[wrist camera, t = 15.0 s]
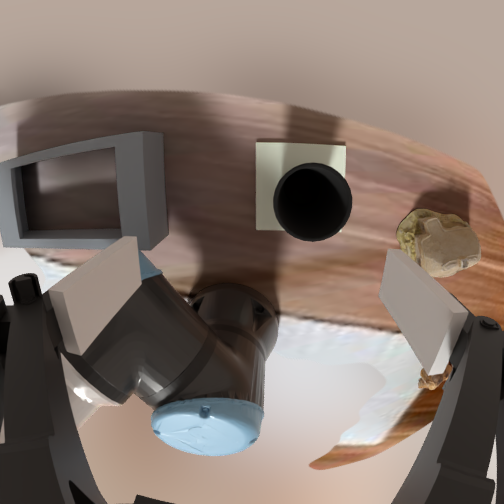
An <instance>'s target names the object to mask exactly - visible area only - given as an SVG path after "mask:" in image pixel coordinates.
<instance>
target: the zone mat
mask: <svg viewBox="0 0 504 504" xmlns="http://www.w3.org/2000/svg"><path fill="white" fill-rule="evenodd" d="M345 161H346V146H338V145H324V144H305V143H265V142H256V230H281V231H285V230H284V229H283V228H282V227H281V226H280V224H279V222H278V220H277V219H276V216H275V213H274V209H273V196H274V192H275V188H276V186H277V184H278V182H279V180H280V179H281V178H282V177H283V176H284V174H285V173H286V172H288V171H289V170H291V169H292V168H293V167H295V166H298V165H301V164H303V163H312V162H314V163H322V164H325V165H328V166H330V167H332V168H334V169H335V170H336V171H338V172H339V173H340V174H341V175H342V176H343V177H344V178H345ZM341 231H342V229H341V230H340V231H339V232H341Z"/></svg>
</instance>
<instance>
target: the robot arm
mask: <svg viewBox="0 0 504 504" xmlns="http://www.w3.org/2000/svg"><path fill="white" fill-rule="evenodd" d="M162 273H163V272H162V271H161V270H160V269H157V268H156V267H155V266H154V265H153V264H152V263H151V262H150V261H149V260H148V259H147V257H146V256H145V255H144V254H143V253H142V252H141V251H140V250H139V249H138V245H137V237H136V236H124V237H122V238H121V239H119V240H118V241H116V242H115V243H113V244H112V245H110V246H109V247H107V248H106V249H104V250H103V251H101V252H100V253H98V254H97V255H95V256H94V257H92V258H91V259H90V260H88V261H87V262H85V263H84V264H82V265H81V266H80V267H78V268H77V269H75V270H74V271H73V272H71V273H70V274H69V275H67V276H66V277H64V278H63V279H62V280H60V281H59V282H58V283H56V284H55V285H54V286H52V287H51V288H50V289H48V290H47V291H46V292H45V293H43V294H42V293H41V289H40V285H39V281H38V277H37V275H36V274H34V273H28V274H22V275H19V276H17V277H15V278H13V279H12V280H10V282H9V283H8V284H9V288H10V291H11V295H12V298H13V301H14V306H6V305H5V302H4V299H3V296H2V295H0V504H107V502H106V501H105V499H104V498H103V496H102V495H101V493H100V491H99V490H98V487H97V485H96V483H95V480H94V478H93V475H92V473H91V470H90V467H89V464H88V462H87V459H86V456H85V453H84V450H83V447H82V444H81V441H80V437H79V434H78V430H79V428H80V427H81V426H82V425H83V424H84V423H85V422H86V421H87V420H88V419H89V418H90V417H91V416H92V415H93V414H94V413H95V412H96V410H97V409H98V408H99V407H100V406H121V405H122V404H124V402H126V400H127V399H128V398H129V397H130V396H131V395H132V394H135V395H137V396H138V397H139V398H140V399H141V400H143V401H144V402H145V403H146V404H147V405H149V406H150V407H151V408H152V409H153V410H154V412H153V413H152V415H151V421H152V422H151V425H152V428H153V431H154V433H155V434H156V436H157V437H159V438H160V439H161V440H162V441H163V442H165V443H166V444H168V445H170V446H172V447H174V448H176V449H179V450H181V451H185V452H188V453H192V454H198V455H206V456H223V455H230V454H234V453H238V452H241V451H243V450H245V449H247V448H248V447H250V446H251V445H252V444H254V443H255V441H256V440H257V438H258V437H259V434H260V428H261V422H262V419H263V417H264V411H263V404H264V403H263V402H264V377H265V361H266V360H267V358H268V356H269V355H270V353H271V351H272V350H273V348H274V346H275V344H276V341H277V336H278V320H277V315H276V312H275V310H274V308H273V307H272V305H271V304H270V302H269V301H268V300H267V299H266V298H265V297H264V296H263V295H261V294H260V293H259V292H257V291H255V290H253V289H251V288H249V287H246V286H243V285H239V284H233V283H222V284H216V285H212V286H210V287H207V288H205V289H203V290H202V291H200V292H199V293H198V294H197V295H196V296H195V297H194V298H193V299H192V300H191V302H190V304H188V303H187V302H186V301H185V300H184V299H183V297H182V296H181V295H180V294H179V293H178V292H177V291H176V290H175V289H174V287H173V286H172V285H171V284H170V283H169V282H168V281H167V279H166V278H165V277H164V276H163V275H162ZM379 298H380V299H381V301H382V302H383V304H384V305H385V307H386V308H387V310H388V311H389V313H390V314H391V316H392V318H393V319H394V321H395V322H396V324H397V325H398V327H399V328H400V330H401V332H402V333H403V335H404V336H405V338H406V340H407V341H408V343H409V345H410V346H411V348H412V349H413V351H414V353H415V354H416V356H417V358H418V359H419V361H420V363H421V365H422V366H423V368H424V370H425V371H426V373H427V375H428V376H429V375H435V374H442V373H443V372H444V370H445V368H446V366H447V364H448V362H449V361H450V362H451V364H452V365H453V368H452V371H451V373H450V375H449V377H448V378H447V380H446V382H445V384H444V386H443V388H442V389H445V390H444V393H443V396H442V399H441V402H440V405H439V407H438V410H437V413H436V415H435V418H434V420H433V423H432V425H431V428H430V430H429V432H428V435H427V437H426V439H425V441H424V444H423V446H422V448H421V450H420V452H419V454H418V456H417V459H416V461H415V463H414V464H413V466H412V468H411V470H410V472H409V474H408V476H407V478H406V479H405V481H404V483H403V485H402V487H401V488H400V490H399V492H398V493H397V495H396V497H395V498H394V500H393V502H392V503H391V504H491V501H492V498H493V494H494V490H495V482H494V480H492V479H489V478H486V476H487V471H488V467H489V463H490V458H491V454H492V449H493V444H494V439H495V434H496V449H497V491H496V504H504V331H502V329H501V326H500V325H499V324H498V323H497V322H496V321H494V320H493V319H491V318H489V317H485V316H477V317H475V316H474V315H473V314H472V313H471V312H470V311H469V310H468V309H467V308H466V307H465V306H464V305H463V304H462V303H461V302H460V301H458V299H457V298H456V297H455V296H454V295H453V294H451V293H449V292H448V291H447V290H446V289H445V288H443V287H442V286H441V285H440V284H439V283H438V282H437V281H436V280H435V279H434V278H433V277H431V276H430V275H429V274H428V273H427V272H426V271H425V270H424V269H423V268H421V267H420V266H419V265H418V264H417V263H416V262H415V261H413V260H412V259H411V258H410V257H409V256H408V255H406V254H405V253H404V252H403V251H402V250H400V249H388V252H387V257H386V263H385V268H384V273H383V278H382V283H381V287H380V292H379ZM134 504H174V503H169V502H164V501H160V500H156V499H152V498H148V497H144V496H141V495H137V496H136V499H135V501H134Z"/></svg>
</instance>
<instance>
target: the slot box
mask: <svg viewBox="0 0 504 504" xmlns="http://www.w3.org/2000/svg"><path fill="white" fill-rule="evenodd" d="M112 147H115V162H116V179H117V192H118V203H119V213H120V222H121V229H69V230H34V231H29V229H28V223H27V217H26V210H25V202H24V194H23V184H22V173H21V166H23V165H27V164H31V163H35V162H39V161H43V160H47V159H52V158H57V157H61V156H66V155H71V154H76V153H82V152H87V151H93V150H99V149H106V148H112ZM0 232H1V237H2V242H3V247H14V248H16V247H17V248H58V249H106V248H107V247H109V246H110V245H112V244H113V243H115V242H116V241H118V240H119V239H121V238H122V237H124V236H136V237H137V245H138V249H139V250H152V249H153V248H154V247H155V246H156V245H157V244H159V243H160V242H161V241H162V240H163V239H164V238H165V237H167V236H168V235H169V234H168V222H167V209H166V193H165V174H164V145H163V133H159V132H149V131H139V132H131V133H125V134H118V135H112V136H106V137H101V138H95V139H90V140H85V141H80V142H75V143H71V144H66V145H62V146H57V147H53V148H49V149H45V150H42V151H38V152H34V153H30V154H27V155H23V156H20V157H17V158H13V159H10V160H7V161H4V162H1V163H0Z"/></svg>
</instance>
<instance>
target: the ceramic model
mask: <svg viewBox="0 0 504 504" xmlns="http://www.w3.org/2000/svg"><path fill="white" fill-rule="evenodd" d="M396 236H397V240H398V241H399V243H400V247H401V250H402V251H403V252H404V253H405V254H406V255H408V256H409V257H410V258H411V259H412V260H413V261H415V262H416V263H417V264H418V265H419V266H420V267H421V268H423V269H424V270H425V271H426V272H427V273H428V274H429V275H430V276H431V277H440V278H441V277H447V276H452V275H454V274H455V273H457V272H458V271H461V270H464V269H467V268H468V267H470V266H473V265H474V264H476V263H478V262H479V261H480V258H481V246H480V243H479V240H478V237H477V235H476V233H475V232H474V231H473V230H472V228H471V227H470V226H469V224H468V223H467V222H464V221H463V220H462V219H460V218H459V217H458V216H457V215H455V214H446V215H444V214H441V213H437V212H434V211H431V210H429V209H416V210H414V211H413V212H411V213H410V214H409V215H408V216H407V217H406V219H404V220H403V221H402V222H401V224H400V225H399V227H398V230H397V233H396Z"/></svg>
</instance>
